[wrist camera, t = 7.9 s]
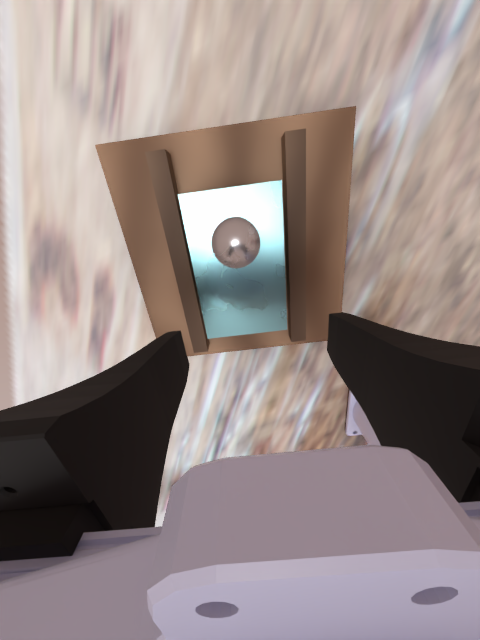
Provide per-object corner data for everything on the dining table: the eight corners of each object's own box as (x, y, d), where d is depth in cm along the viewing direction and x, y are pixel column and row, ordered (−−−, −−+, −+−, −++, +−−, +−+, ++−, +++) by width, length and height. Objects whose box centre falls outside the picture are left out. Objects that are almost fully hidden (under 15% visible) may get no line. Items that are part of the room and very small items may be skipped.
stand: (344, 116, 15) (366, 96, 12) (333, 331, 22) (345, 346, 19) (107, 151, 15) (83, 139, 13) (167, 350, 22) (158, 367, 20)
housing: (274, 301, 19) (290, 336, 13) (214, 308, 19) (206, 345, 14) (268, 190, 15) (285, 177, 10) (194, 200, 15) (173, 193, 10)
